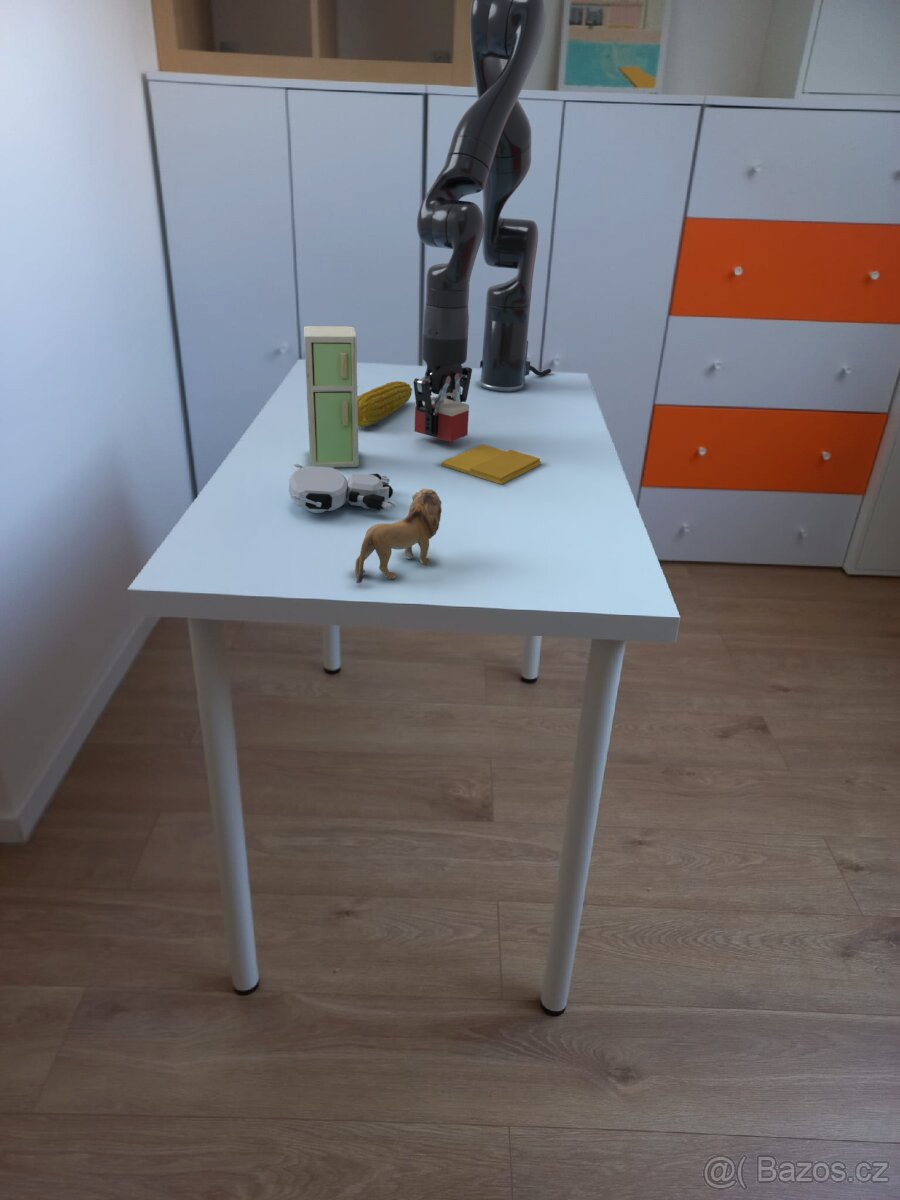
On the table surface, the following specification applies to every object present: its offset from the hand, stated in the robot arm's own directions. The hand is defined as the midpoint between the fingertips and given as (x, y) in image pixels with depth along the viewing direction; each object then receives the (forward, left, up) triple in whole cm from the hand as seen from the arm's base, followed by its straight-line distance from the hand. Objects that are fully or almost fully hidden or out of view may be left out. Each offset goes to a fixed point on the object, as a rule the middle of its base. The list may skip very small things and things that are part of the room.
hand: (441, 430), depth 146 cm
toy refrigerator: (+20, -7, -2) cm, 21 cm away
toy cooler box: (0, 0, 0) cm, 0 cm away
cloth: (+3, +13, -2) cm, 13 cm away
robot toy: (+32, +6, -2) cm, 33 cm away
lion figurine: (+41, +24, -2) cm, 47 cm away
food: (-4, -17, -2) cm, 18 cm away
